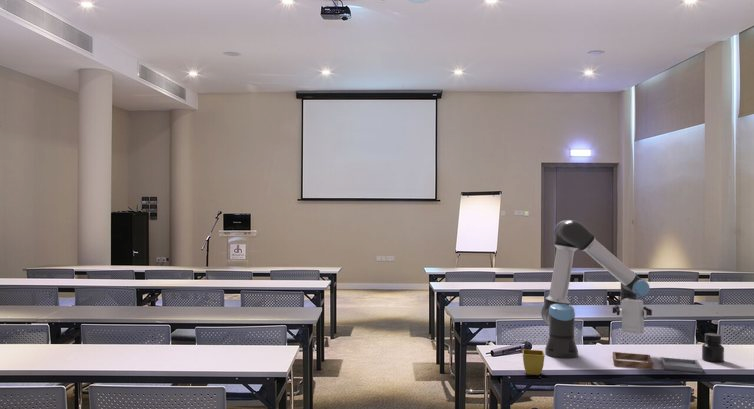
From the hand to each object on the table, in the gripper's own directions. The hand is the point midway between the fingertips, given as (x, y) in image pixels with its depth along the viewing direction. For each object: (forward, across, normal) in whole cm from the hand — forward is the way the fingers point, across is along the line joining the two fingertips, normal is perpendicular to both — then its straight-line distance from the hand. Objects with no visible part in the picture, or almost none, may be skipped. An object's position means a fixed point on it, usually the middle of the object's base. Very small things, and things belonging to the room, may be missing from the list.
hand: (633, 314), depth 274 cm
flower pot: (+31, +41, -23) cm, 56 cm away
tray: (-4, -20, -23) cm, 31 cm away
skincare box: (-4, 0, -9) cm, 10 cm away
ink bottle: (-23, -36, -23) cm, 49 cm away
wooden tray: (-4, 0, -23) cm, 23 cm away
